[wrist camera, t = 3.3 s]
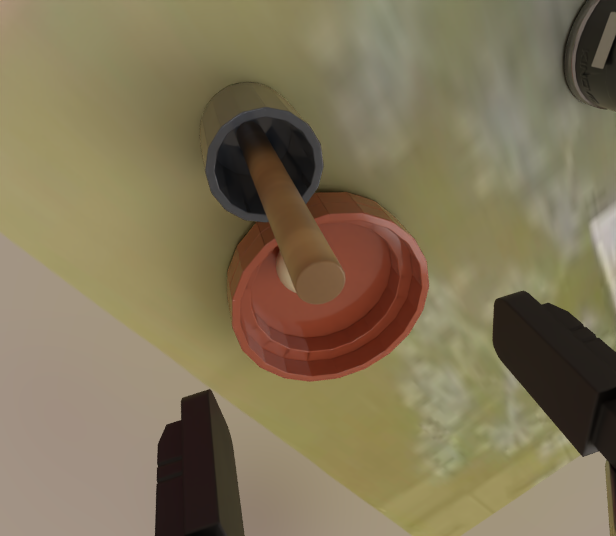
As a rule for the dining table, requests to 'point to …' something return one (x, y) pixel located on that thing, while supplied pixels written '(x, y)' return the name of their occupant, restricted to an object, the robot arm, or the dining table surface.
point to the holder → (280, 132)
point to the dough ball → (283, 273)
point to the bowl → (341, 310)
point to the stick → (291, 221)
